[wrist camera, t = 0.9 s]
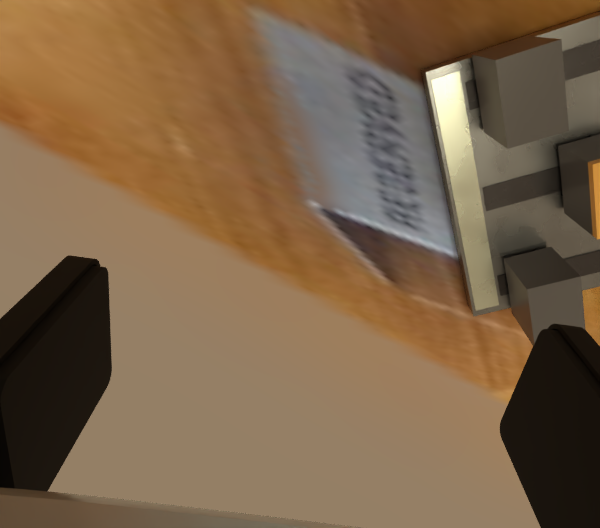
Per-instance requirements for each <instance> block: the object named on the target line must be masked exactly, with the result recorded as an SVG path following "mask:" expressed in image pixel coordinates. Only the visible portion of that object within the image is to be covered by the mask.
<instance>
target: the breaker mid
mask: <svg viewBox="0 0 600 528" xmlns="http://www.w3.org/2000/svg"><path fill="white" fill-rule="evenodd" d="M558 151H559V161H560V172H561V183H562V194H563V205H564V213H565V214H566V215H567V216H568V217H570V218H571V219H572V220H573V221H575V222H576V223H577V224H578V225H580V226H581V227H582V228H583V229H585V230H586V231H587V232H588V233H590V234H591V235H592V236H593V237H595V238H596V239H597V240H598V239H600V134H598V135H595V136H591V137H588V138H584V139H581V140H577V141H574V142H570V143H567V144H563V145H560V146H558Z"/></svg>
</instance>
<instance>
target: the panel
mask: <svg viewBox="0 0 600 528" xmlns="http://www.w3.org/2000/svg"><path fill="white" fill-rule="evenodd" d="M527 36H533V37H545V38H556V39H562V52H563V64H564V76H565V88H566V101H567V113H568V125H569V131H567V132H564V133H561V134H557V135H554V136H550V137H547V138H544V139H540V140H537V141H533V142H530V143H526V144H523V145H520V146H516V147H513V148H509V149H507V148H506V147H504V146H503V145H501V144H500V143H498V142H497V141H496V140H494V139H493V138H491V137H490V136H488V135H487V134H486V133H484V130H483V124H482V118H481V111H480V105H479V98H478V92H477V86H476V79H475V73H474V67H473V60H472V54H475V53H478V52H481V51H484V50H487V49H490V48H493V47H496V46H499V45H502V44H505V43H508V42H511V41H514V40H517V39H520V38H523V37H527ZM421 74H422V79H423V84H424V89H425V94H426V99H427V104H428V109H429V113H430V118H431V123H432V128H433V133H434V138H435V143H436V148H437V153H438V158H439V163H440V168H441V173H442V178H443V183H444V188H445V193H446V198H447V203H448V208H449V213H450V218H451V223H452V228H453V233H454V238H455V243H456V248H457V253H458V258H459V263H460V268H461V273H462V278H463V283H464V288H465V293H466V298H467V303H468V306H469V308H470V310H471V312H472V314H473V316H477V315H481V314H486V313H490V312H494V311H498V310H502V309H507V308H511V303H510V296H509V290H508V284H507V277H506V271H505V264H504V258H508V257H512V256H516V255H520V254H524V253H528V252H532V251H536V250H540V249H543V248H547V247H552V248H553V249H554V250H555V251H556V252H557V253H558V254H559V255H560V256H561V257H562V258H563V259H564V260H565V261H566V262H567V263H568V264H569V265H570V266H571V267H572V268H573V269H574V270H575V271H576V272H577V273H578V274H579V275H580V276H581V284H582V290H586V289H590V288H595V287H599V286H600V239H598V240H597V239H596V238H595V237H593V236H592V235H591V234H590V233H588V232H587V231H586V230H585V229H583V228H582V227H581V226H580V225H578V224H577V223H576V222H575V221H573V220H572V219H571V218H570V217H568V216H567V215H566V214H565V213H564V205H563V194H562V183H561V172H560V161H559V151H558V146H560V145H563V144H567V143H570V142H574V141H577V140H581V139H584V138H588V137H591V136H595V135H598V134H600V11H598V12H595V13H592V14H589V15H586V16H583V17H580V18H577V19H574V20H571V21H568V22H565V23H562V24H559V25H556V26H553V27H550V28H547V29H543V30H540V31H537V32H534V33H531V34H528V35H525V36H522V37H519V38H516V39H513V40H510V41H507V42H504V43H501V44H498V45H495V46H492V47H489V48H486V49H483V50H480V51H476V52H473V53H470V54H467V55H464V56H461V57H458V58H455V59H452V60H449V61H446V62H443V63H440V64H437V65H434V66H431V67H428V68H425V69H422V70H421Z"/></svg>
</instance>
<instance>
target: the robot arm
mask: <svg viewBox="0 0 600 528" xmlns="http://www.w3.org/2000/svg"><path fill="white" fill-rule="evenodd" d="M111 371H112V365H111V338H110V311H109V284H108V271H107V269H106V268H105V267H100V264H99V261H98V260H97V259H91V258H84V257H77V256H67V257H66V258H64V259H63V260H62V261H61V262H60V263H59V264H58V265H57V266H56V267H55V268H54V269H53V270H52V271H51V272H49V273H48V274H47V275H46V276H45V277H44V278H43V279H42V280H41V281H40V282H39V283H38V284H37V285H36V286H35V287H34V288H33V289H31V290H30V291H29V292H28V293H27V294H26V295H25V296H24V297H23V298H22V299H21V300H20V301H19V302H18V303H17V304H16V305H14V306H13V307H12V308H11V309H10V310H9V311H8V312H7V313H6V314H5V315H4V316H3V317H2V318H1V319H0V528H359V527H351V526H342V525H335V524H326V523H318V522H310V521H302V520H294V519H285V518H277V517H269V516H260V515H252V514H244V513H235V512H227V511H218V510H209V509H201V508H192V507H183V506H175V505H166V504H158V503H149V502H141V501H133V500H124V499H115V498H105V497H96V496H86V495H77V494H67V493H57V492H47V491H48V489H49V487H50V486H51V484H52V482H53V480H54V479H55V477H56V475H57V473H58V472H59V470H60V468H61V466H62V465H63V463H64V461H65V459H66V458H67V456H68V454H69V452H70V451H71V449H72V447H73V445H74V444H75V442H76V440H77V439H78V437H79V435H80V433H81V431H82V430H83V428H84V426H85V425H86V423H87V421H88V419H89V418H90V416H91V414H92V412H93V411H94V409H95V407H96V405H97V404H98V402H99V400H100V398H101V397H102V395H103V393H104V391H105V390H106V388H107V386H108V384H109V381H110V377H111ZM500 434H501V438H502V440H503V443H504V445H505V447H506V450H507V452H508V454H509V456H510V459H511V461H512V463H513V465H514V468H515V470H516V472H517V475H518V477H519V479H520V481H521V484H522V485H523V488H524V490H525V493H526V495H527V497H528V500H529V502H530V504H531V506H532V509H533V511H534V513H535V515H536V518H537V520H538V522H539V524H540V526H541V528H600V346H599V345H598V344H597V343H596V342H595V340H594V339H593V338H592V337H591V336H590V335H589V334H588V332H587V331H586V330H585V329H583V328H582V327H576V326H569V325H562V324H552V325H550V326H549V327H548V329H543V330H541V331H540V333H539V335H538V337H537V339H536V341H535V344H534V346H533V348H532V351H531V353H530V355H529V357H528V360H527V362H526V364H525V367H524V369H523V371H522V374H521V376H520V378H519V380H518V383H517V385H516V387H515V390H514V392H513V394H512V397H511V399H510V401H509V404H508V406H507V408H506V410H505V413H504V415H503V417H502V420H501V423H500Z"/></svg>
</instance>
